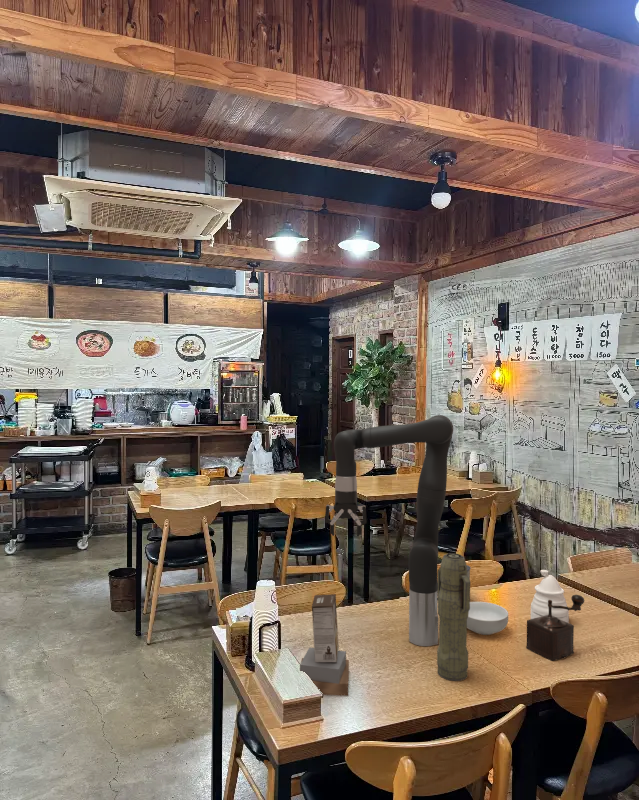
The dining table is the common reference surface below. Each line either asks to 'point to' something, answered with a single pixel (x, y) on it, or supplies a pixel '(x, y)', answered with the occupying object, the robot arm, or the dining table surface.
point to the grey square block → (323, 667)
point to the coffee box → (325, 628)
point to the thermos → (453, 617)
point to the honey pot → (549, 591)
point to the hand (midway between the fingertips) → (345, 535)
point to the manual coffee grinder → (552, 633)
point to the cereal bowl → (486, 618)
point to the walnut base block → (333, 687)
